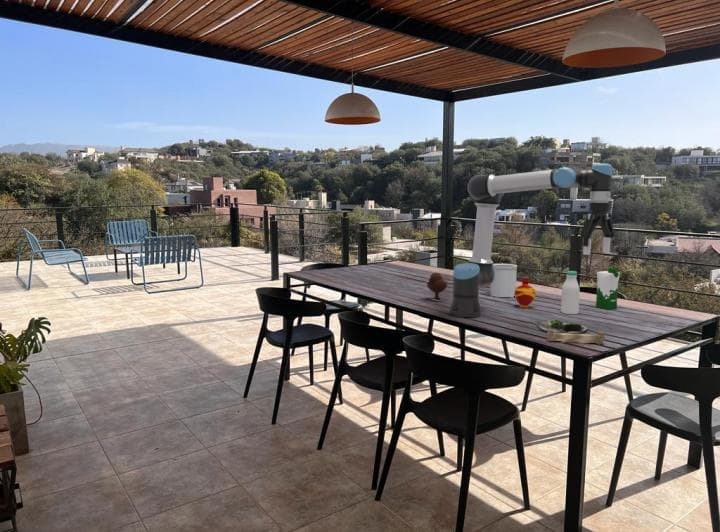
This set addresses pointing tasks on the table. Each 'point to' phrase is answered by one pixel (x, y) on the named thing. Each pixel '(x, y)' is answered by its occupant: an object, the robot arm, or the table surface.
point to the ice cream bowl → (436, 284)
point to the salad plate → (563, 327)
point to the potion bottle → (525, 293)
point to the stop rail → (575, 337)
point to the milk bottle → (570, 294)
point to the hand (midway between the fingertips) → (596, 253)
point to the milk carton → (607, 289)
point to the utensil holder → (504, 280)
